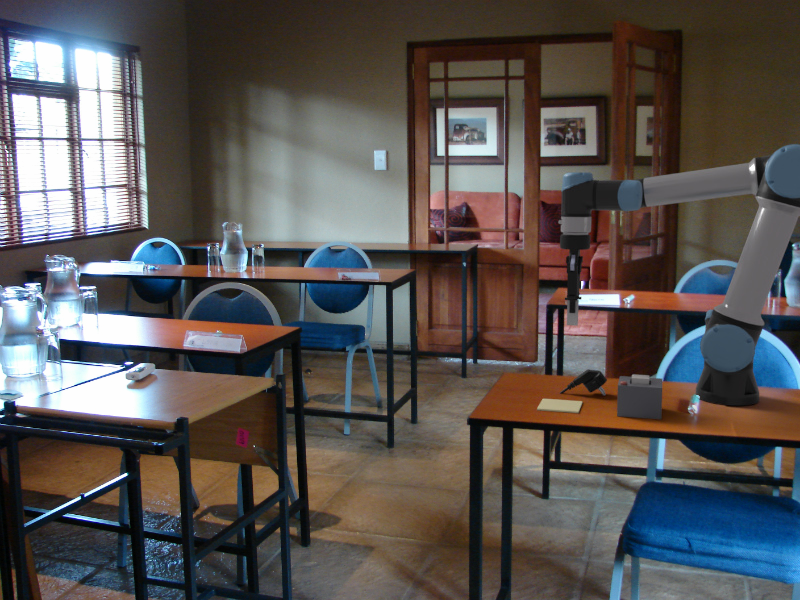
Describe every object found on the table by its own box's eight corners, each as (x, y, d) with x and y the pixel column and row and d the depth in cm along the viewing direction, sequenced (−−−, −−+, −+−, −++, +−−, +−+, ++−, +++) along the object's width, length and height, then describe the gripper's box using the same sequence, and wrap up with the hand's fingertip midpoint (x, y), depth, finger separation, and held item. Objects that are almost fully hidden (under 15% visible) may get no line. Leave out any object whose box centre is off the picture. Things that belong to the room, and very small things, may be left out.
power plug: (558, 388, 209) (595, 362, 206) (575, 410, 208) (612, 385, 206) (558, 393, 203) (596, 367, 200) (576, 416, 203) (614, 390, 200)
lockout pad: (582, 402, 197) (582, 401, 197) (578, 413, 188) (578, 411, 188) (542, 400, 201) (542, 398, 201) (536, 410, 191) (536, 408, 191)
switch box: (661, 408, 191) (662, 376, 190) (661, 419, 182) (662, 385, 181) (619, 405, 195) (620, 373, 194) (617, 416, 185) (617, 382, 184)
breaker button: (648, 391, 189) (649, 375, 188) (648, 395, 185) (649, 379, 185) (631, 390, 190) (632, 374, 190) (631, 394, 186) (631, 378, 186)
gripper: (563, 232, 205) (560, 320, 209) (557, 234, 193) (554, 328, 196) (592, 232, 203) (588, 321, 206) (588, 235, 191) (585, 330, 194)
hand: (572, 324), depth 201 cm, fingers closed
